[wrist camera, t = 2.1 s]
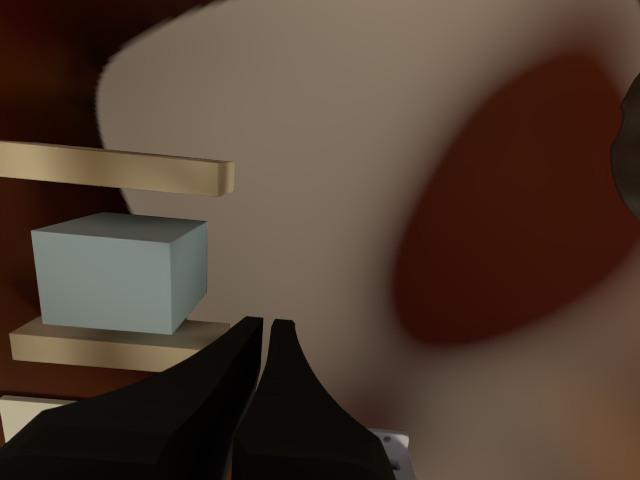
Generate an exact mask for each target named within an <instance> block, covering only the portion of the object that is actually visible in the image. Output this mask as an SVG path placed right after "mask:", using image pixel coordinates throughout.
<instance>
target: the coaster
mask: <svg viewBox="0 0 640 480" xmlns="http://www.w3.org/2000/svg"><path fill="white" fill-rule="evenodd" d="M73 402H77V401H69V400H57V399H44V398H32V397H20V396H8V395H4V396H2V397H1V398H0V412H1V418H2V423H3V429H4V435H5V441H6V443H7V442H8V441H9V440H10V439H11V438H12V437H13V436H14V435H15V434H17V433H18V432H19V431H20V430H21V429H22V428H23V427H24V426H25V425H26V424H28V423H29V422H30V421H31V420H32V419H33V418H34V417H35V416H36V415H38V414H39V413H40V412H41V411H42V410H46V409H50V408H54V407H58V406H62V405H66V404H70V403H73Z"/></svg>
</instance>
